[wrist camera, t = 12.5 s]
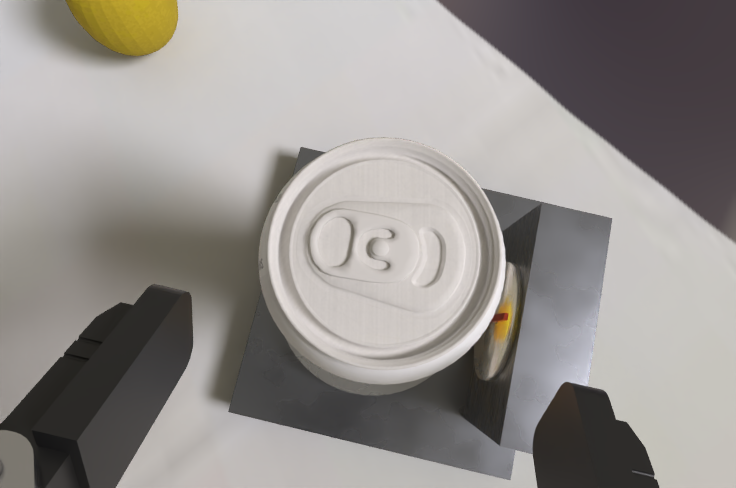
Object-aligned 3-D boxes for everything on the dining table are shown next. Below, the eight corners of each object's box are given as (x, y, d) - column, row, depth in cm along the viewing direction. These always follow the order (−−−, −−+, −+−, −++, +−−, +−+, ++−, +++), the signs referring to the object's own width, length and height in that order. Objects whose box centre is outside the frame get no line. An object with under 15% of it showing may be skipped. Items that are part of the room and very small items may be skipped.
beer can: (418, 367, 25) (504, 412, 10) (301, 347, 25) (221, 363, 11) (435, 251, 26) (534, 144, 12) (322, 232, 26) (278, 101, 12)
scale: (237, 406, 28) (181, 439, 19) (304, 159, 31) (282, 87, 22) (499, 470, 27) (566, 533, 19) (543, 213, 30) (620, 163, 21)
